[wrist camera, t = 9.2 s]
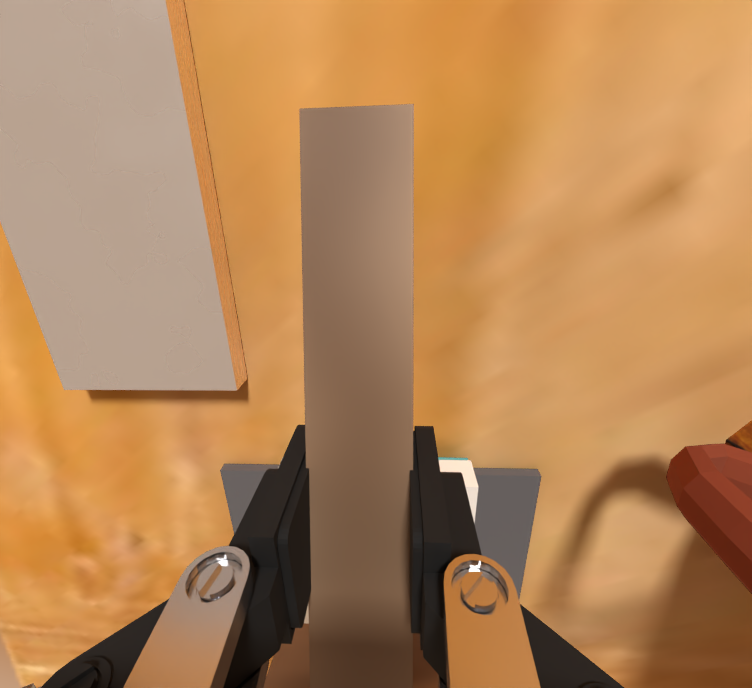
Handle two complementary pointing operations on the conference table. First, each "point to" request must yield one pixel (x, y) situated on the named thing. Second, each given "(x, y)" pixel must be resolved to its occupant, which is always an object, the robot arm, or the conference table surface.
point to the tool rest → (115, 195)
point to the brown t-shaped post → (357, 402)
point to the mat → (492, 519)
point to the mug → (719, 497)
